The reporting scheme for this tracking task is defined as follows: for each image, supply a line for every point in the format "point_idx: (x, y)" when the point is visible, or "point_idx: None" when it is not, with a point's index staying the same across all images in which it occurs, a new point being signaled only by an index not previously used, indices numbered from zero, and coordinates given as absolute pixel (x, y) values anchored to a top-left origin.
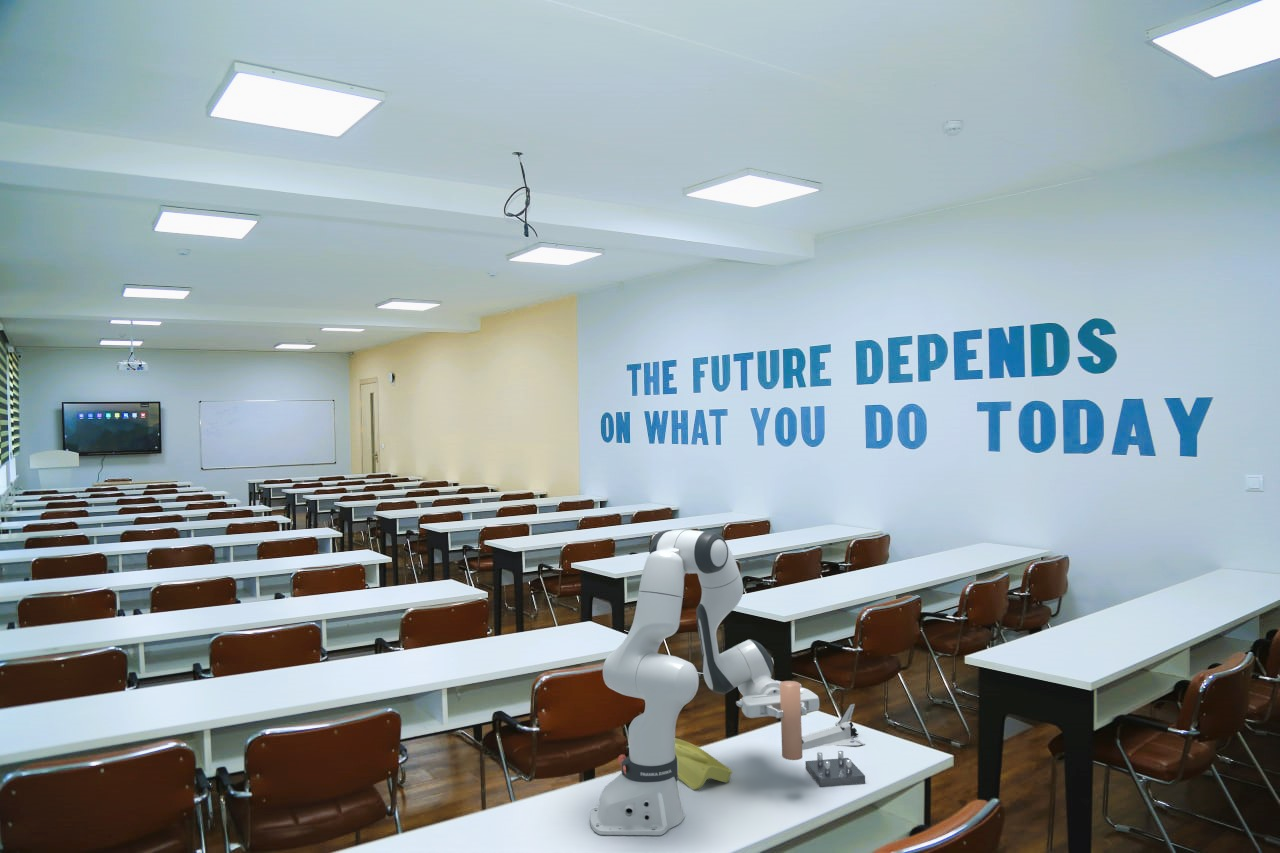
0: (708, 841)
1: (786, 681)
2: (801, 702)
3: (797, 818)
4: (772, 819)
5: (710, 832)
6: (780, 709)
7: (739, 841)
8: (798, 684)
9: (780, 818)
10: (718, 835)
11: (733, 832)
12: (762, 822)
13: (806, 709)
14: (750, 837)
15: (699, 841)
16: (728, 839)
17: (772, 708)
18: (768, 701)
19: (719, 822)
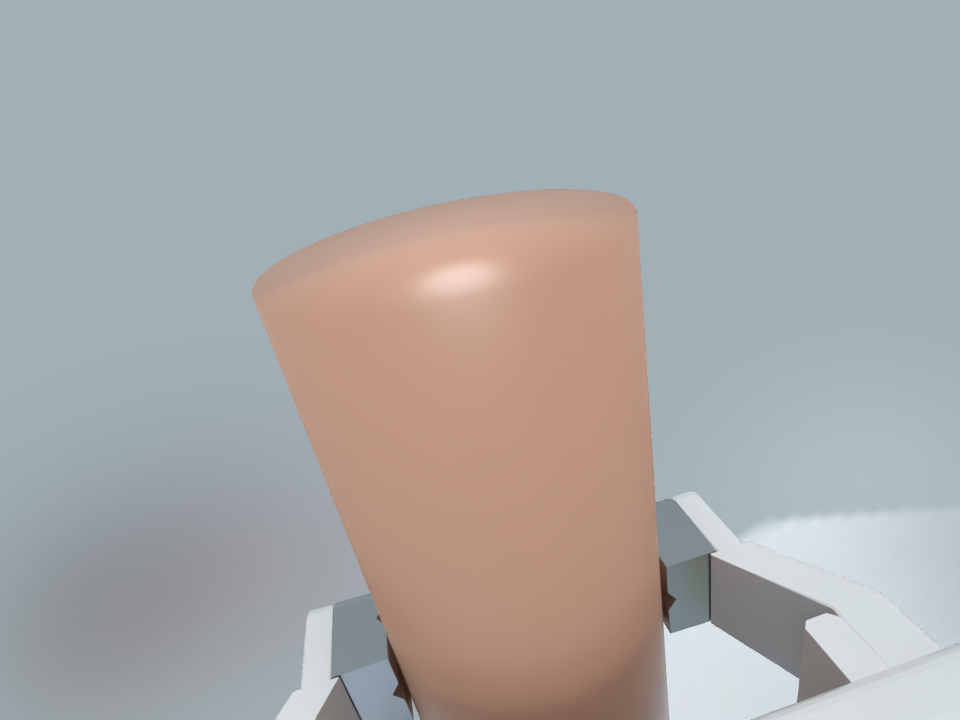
0: (911, 516)
1: (474, 278)
2: None
3: None
4: (710, 677)
5: (943, 567)
6: (659, 546)
7: (797, 523)
8: (318, 248)
9: (674, 687)
10: (896, 550)
11: (846, 572)
12: (749, 649)
13: (313, 610)
14: (766, 546)
15: (945, 514)
16: (842, 531)
17: (786, 561)
18: (957, 698)
19: (956, 643)
